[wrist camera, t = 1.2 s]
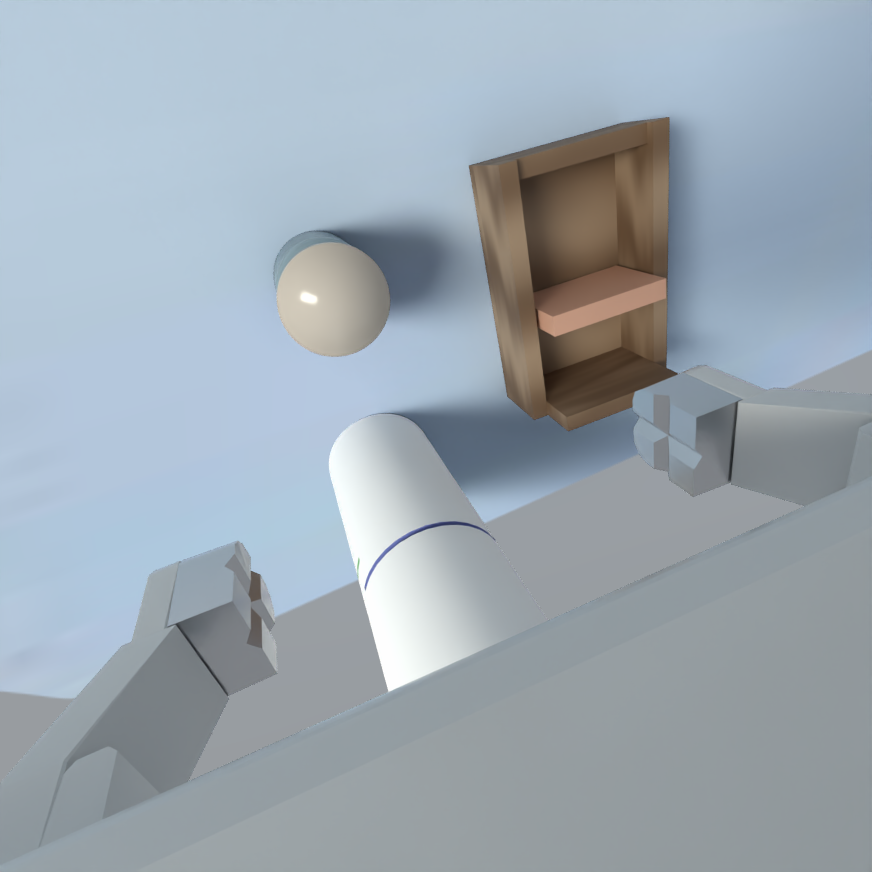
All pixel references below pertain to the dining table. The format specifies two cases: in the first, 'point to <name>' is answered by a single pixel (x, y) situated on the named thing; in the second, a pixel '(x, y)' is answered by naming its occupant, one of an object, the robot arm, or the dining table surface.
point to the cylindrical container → (421, 552)
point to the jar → (330, 294)
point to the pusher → (595, 298)
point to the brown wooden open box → (577, 264)
